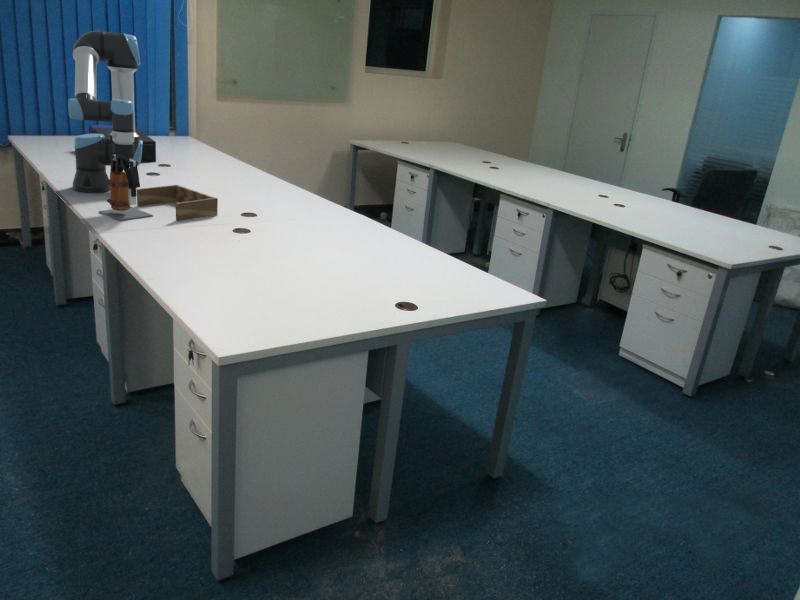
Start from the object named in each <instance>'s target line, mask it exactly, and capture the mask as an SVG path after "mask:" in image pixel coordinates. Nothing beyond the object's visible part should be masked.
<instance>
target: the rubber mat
mask: <svg viewBox="0 0 800 600" xmlns="http://www.w3.org/2000/svg"><path fill="white" fill-rule="evenodd" d="M98 214H102V215H104V216H106V217H109V218H111V219H113V220H116V221H119V222H124V221H130V220H137V219H144V218H152V217H153V214H151V213H149V212H146V211H143V210H141V209H138V208H135V207H133V206H130V208H129V209H128V210H125V211H118V210H114V209H112V208H111V209H106V210H99V211H98Z"/></svg>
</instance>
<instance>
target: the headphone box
mask: <svg viewBox="0 0 800 600" xmlns="http://www.w3.org/2000/svg"><path fill="white" fill-rule="evenodd" d="M111 132H112V125H102V124H101V125H100V124H99V125H96V124H94V125H93V124H90V125H88V134H103V135H104V136H105V138H110V133H111ZM135 132H136V133H137V134H138V135H139V140H142V141H143V145H142V156H141V162H140V163H157V149H156V147H157V146H156V141H155V140H154V139H152V138H151V137H150V136H148V135H147V134H145V133H144V132H143V131H142V130H140V129H138V128H137V127H136V126H135Z"/></svg>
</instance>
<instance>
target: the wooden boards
mask: <svg viewBox="0 0 800 600" xmlns="http://www.w3.org/2000/svg"><path fill="white" fill-rule="evenodd" d="M218 200H219V199H218V197H215V196H212V195H208V194H205V193H202V192H200V191H196V190H193V189H190V188H187V187H185V186H181V185H178V184H173V185H172V184H171V185H165V186H163V185H162V186H154V187H144V188H136V206H137V207H147V206H154V205H163V204H169V203H170V204H171V203H175V221H176V222H181V221H188V220H195V218H196V219H201V217H202V218H208V217H213V216H218V205H219V204H218V202H219V201H218ZM207 216H208V217H207Z"/></svg>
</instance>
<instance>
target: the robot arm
mask: <svg viewBox="0 0 800 600" xmlns="http://www.w3.org/2000/svg"><path fill="white" fill-rule="evenodd" d="M72 58H73V60H74V61H75V64H74V65H75V66H74V67H75V68H74V72H75V73H74V97H73V98H68V100H67V107H68V109H67V110H68V116H69V118H70V119H72V120H78V121H90V122H91V121H93V122H106V123H107V122H108V123H111V126H112V132H111V133H110V138H105V136H104V135H103V134H89V133H84V134H80V135H77V136H76V137H75V138H74V147H73V149H74V154H75V155H74V157H75V173H74V178H73V181H72V189H73V190H74V191H76V192H81V193H97V194H98V193H99V194H100V193H105V192H106V193H107V192H111V191H110V185H109V184H108V183H107V181H108V180H109V179H110V177H109V176H108V173H107V166H108V167H109V166H110V171H109V172H110V173H111V172H115V171H119V172H126V174H127V179H128V183H129V186H130V187H128V195H129V205H130V206H134V205H135V206H137V189H139V188H140V187H141V183H140V177H139V170H138V169H139V168H138V167H139V166H141V163H142V162H141V156H142V145H143V141H142V140H139V135H138V134H137V133H136V132H135V127H136V120H135V119H136V118H135V117H136V113H135V84H134V83H135V82H134V81H135V79H134V74H135V72H137V70H138V67H139V66H141V64H142V63H141V56H140V51H139V44H138V39H137V37H136V36H135V35H132V34H128V33H120V32H110V31H101V30H91V31H88V32H85V33H84V34H82V35H81V36H80V37H79V38H77V40H76V42H75V43H74V44H73V49H72ZM99 62H104V63H106V68H108V70H110V78H111V101H109V100H108V101H107V100H97V97H98V95H97V94H98V93H97V89H98V87H97V85H98V84H97V83H98V82H97V80H98V77H97V75H98V73H97V70H98V69H97V65H98V64H99ZM110 173H109V174H110Z"/></svg>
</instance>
